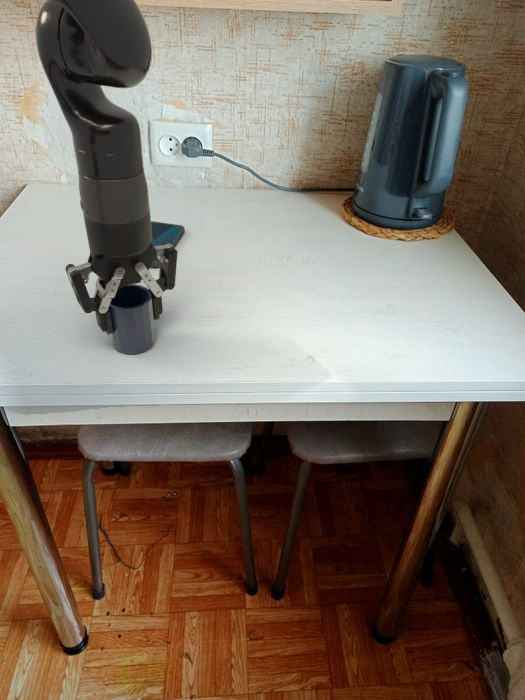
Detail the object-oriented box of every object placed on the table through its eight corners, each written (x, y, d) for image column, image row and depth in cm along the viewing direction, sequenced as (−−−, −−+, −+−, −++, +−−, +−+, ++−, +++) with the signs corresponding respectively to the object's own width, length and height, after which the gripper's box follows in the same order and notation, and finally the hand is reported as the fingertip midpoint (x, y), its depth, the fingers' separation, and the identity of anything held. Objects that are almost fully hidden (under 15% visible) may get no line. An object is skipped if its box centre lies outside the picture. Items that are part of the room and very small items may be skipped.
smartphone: (117, 262, 87) (117, 257, 87) (148, 224, 99) (148, 220, 98) (160, 268, 86) (160, 263, 86) (186, 229, 98) (186, 225, 97)
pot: (121, 360, 68) (114, 314, 63) (105, 336, 72) (97, 291, 67) (162, 346, 71) (159, 301, 66) (145, 323, 75) (140, 279, 70)
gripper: (63, 233, 53) (89, 356, 64) (187, 207, 60) (191, 322, 70) (43, 206, 58) (70, 324, 68) (159, 185, 64) (168, 296, 75)
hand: (131, 323), depth 69 cm, fingers closed on pot, 6 cm apart
